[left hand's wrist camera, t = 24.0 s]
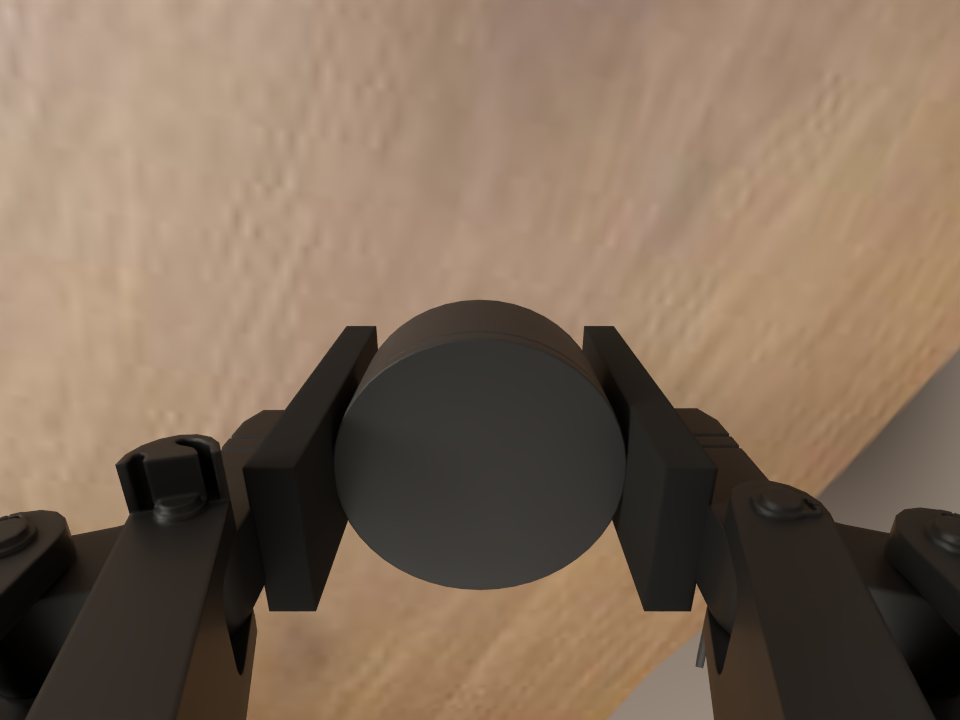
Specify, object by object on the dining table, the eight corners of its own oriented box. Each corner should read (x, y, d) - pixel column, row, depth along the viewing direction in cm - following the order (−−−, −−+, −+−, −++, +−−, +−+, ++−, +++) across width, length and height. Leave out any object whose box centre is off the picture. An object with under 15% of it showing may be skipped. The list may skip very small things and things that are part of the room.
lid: (335, 316, 11) (298, 360, 9) (592, 283, 11) (622, 318, 9) (386, 524, 13) (366, 603, 11) (605, 500, 13) (632, 575, 11)
